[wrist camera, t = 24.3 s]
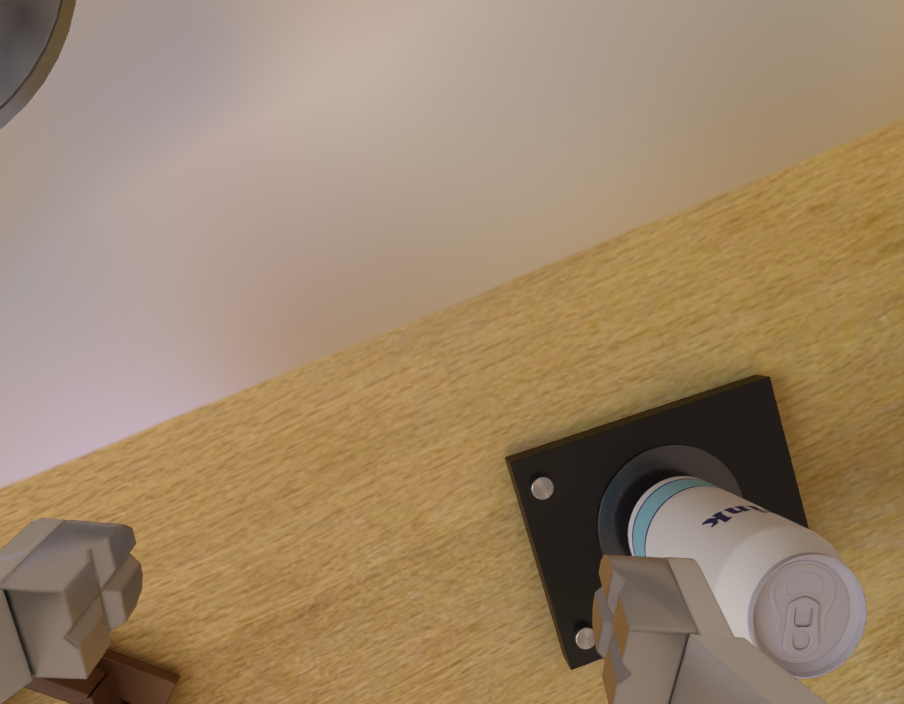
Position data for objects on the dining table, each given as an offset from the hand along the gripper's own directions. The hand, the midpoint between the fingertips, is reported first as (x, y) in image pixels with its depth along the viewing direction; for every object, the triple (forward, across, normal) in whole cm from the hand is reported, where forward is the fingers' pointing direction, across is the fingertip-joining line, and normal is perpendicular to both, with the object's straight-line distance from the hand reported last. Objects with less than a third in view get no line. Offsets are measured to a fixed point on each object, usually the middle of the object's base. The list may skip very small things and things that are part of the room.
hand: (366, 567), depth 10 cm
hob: (+24, -15, +17) cm, 34 cm away
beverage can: (+23, -16, +17) cm, 32 cm away
